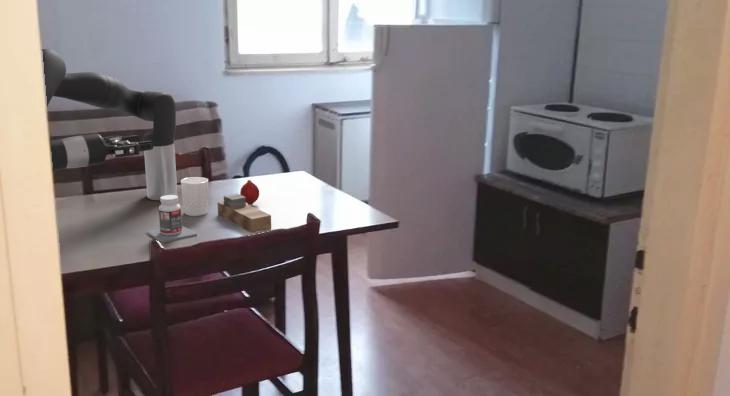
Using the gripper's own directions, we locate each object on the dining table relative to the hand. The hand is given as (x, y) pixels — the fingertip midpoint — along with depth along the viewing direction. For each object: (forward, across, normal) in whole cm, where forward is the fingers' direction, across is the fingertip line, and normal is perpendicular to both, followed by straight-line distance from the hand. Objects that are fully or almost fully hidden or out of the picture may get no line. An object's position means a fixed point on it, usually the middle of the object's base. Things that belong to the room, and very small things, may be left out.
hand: (145, 142), depth 190 cm
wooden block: (+26, -2, +27) cm, 37 cm away
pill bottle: (+5, 0, +26) cm, 26 cm away
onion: (+36, +12, +27) cm, 47 cm away
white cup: (+19, +14, +27) cm, 36 cm away
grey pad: (+5, 0, +26) cm, 27 cm away
